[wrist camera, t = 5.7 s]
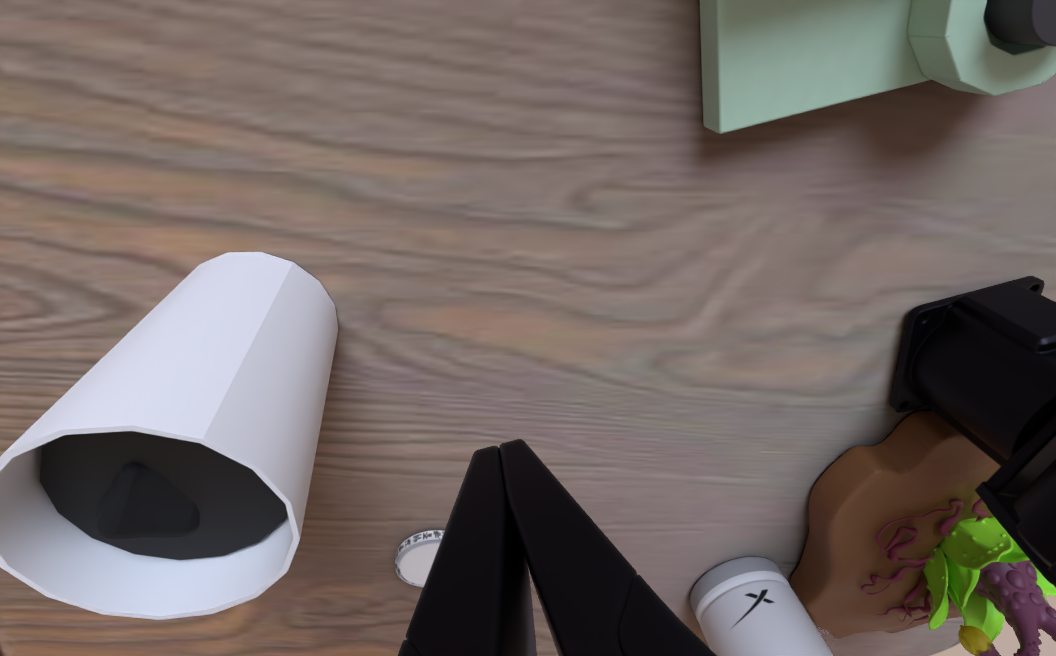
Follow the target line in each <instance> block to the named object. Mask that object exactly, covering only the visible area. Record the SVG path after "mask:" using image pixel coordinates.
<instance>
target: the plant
mask: <svg viewBox="0 0 1056 656" xmlns="http://www.w3.org/2000/svg"><path fill="white" fill-rule="evenodd" d="M1000 467H1001V466H1000V465H999V464H997V463H996V462H995V461H994V460H993V459H991V458H990V457H989V456H988V455H986V454H985V453H984V452H983V451H981V450H980V449H979V448H978V447H977V446H975V445H974V444H973V443H972V442H970V441H969V440H968V439H967V438H966V437H964V436H963V435H962V434H961V433H959V432H958V431H957V430H956V429H955V428H953V427H952V426H951V425H950V424H948V423H947V422H946V421H945V420H944V419H942V418H941V417H940V416H939V415H937V414H936V413H935V412H928V411H920V412H916V413H913V414H911V415H909V416H908V417H907V418H906V419H904V420H903V421H902V422H901V423H900V424H899V425H898V427H897V428H896V429H895V430H894V431H893V432H892V433H891V434H890V435H889V436H888V437H887V438H886V439H885V440H884V441H883V442H881V443H879V444H877V445H875V446H855V447H852V448H851V449H849V450H848V451H847V452H846V453H844V454H843V455H842V456H841V457H840V458H838V459H837V460H836V461H835V462H834V463H833V464H832V465H831V466H830V467H829V468H828V469H827V470H826V471H825V472H824V473H823V474H822V475H821V477H820V478H819V479H818V481H817V482H816V484H815V486H814V487H813V489H812V492H811V496H810V500H809V511H808V514H809V534H808V538H807V541H806V545H805V548H804V552H803V555H802V558H801V561H800V563H799V566H798V567H797V569H796V570H795V572H794V573H793V575H792V576H791V585H792V587H793V589H794V590H795V592H796V594H797V595H798V597H799V599H800V600H801V602H802V604H803V605H804V607H805V609H806V610H807V612H808V613H809V615H810V617H811V618H812V620H813V621H814V622H815V624H816V625H817V626H819V627H821V628H823V629H825V630H827V631H829V632H830V633H831V634H832V635H833V636H834V637H835V638H842V637H845V636H848V635H851V634H854V633H859V632H865V631H885V632H889V633H895V632H900V631H903V630H907V629H910V628H913V627H916V626H918V625H922V624H925V623H929V629H930V630H933V629H935V628H938V627H939V626H941V625H942V624H943V623H944V621H945V619H948V618H955V617H962V616H963V618H964V626H963V625H960V627H961V629H960V630H959V640H960V642H961V644H962V645H963V647H964V648H965V649H966V650H967V651H968V652H970V653H971V654H973V655H975V656H1001V655H999V653H998V651H997V650H996V649H995V647H994V645H993V643H992V642H993V640H994V639H995V638H996V637H997V636H998V634H999V633H1000V631H1001V629H1002V626H1003V622H1004V616H1005V619H1006V621H1007V623H1008V624H1009V625H1010V626H1011V627H1013V629H1014V631H1015V634H1016V636H1017V638H1018V641H1019V643H1020V649H1018V650H1017V653H1014V656H1039V652H1040V649H1039V647H1038V645H1040V644H1042V643H1041V640H1039V638H1038V637H1039V636H1040V633H1039V632H1038V629H1042V630H1043V631H1045V632H1046V633H1047V634H1049V635H1050V636H1051V637H1052V639H1053V640H1054V641H1056V610H1055V609H1053V608H1052V607H1051V606H1050V605H1049V604H1048V602H1047V600H1046V598H1045V596H1044V594H1045V595H1052V596H1056V588H1055V586H1054V585H1052V584H1051V583H1050V582H1048V581H1047V580H1046V579H1045V578H1044V577H1043V575H1042V574H1041V573H1040V572H1039V570H1038V569H1037V568H1036V567H1035V566H1034V564H1033V563H1032V562H1031V561H1030V559H1029V558H1028V557H1027V556H1026V555H1025V553H1024V552H1023V551H1022V550H1021V548H1020V547H1019V546H1018V545H1017V544H1016V542H1015V541H1014V540H1013V539H1012V538H1011V536H1010V535H1009V534H1008V533H1007V531H1006V530H1005V529H1004V528H1003V527H1002V525H1001V524H1000V523H999V522H998V520H997V519H996V518H995V517H994V516H993V514H992V513H991V512H990V511H989V509H988V508H987V505H986V504H985V503H984V502H983V500H982V499H981V498H980V497H979V496H978V494H977V493H976V492H975V489H976V488H977V487H978V486H979V485H980V484H981V483H982V482H983V481H985V482H986V481H987V480H988V479H989V478H990V477H991V476H992V475H993V474H994V473H995V472H996V471H997V470H998V469H999V468H1000Z"/></svg>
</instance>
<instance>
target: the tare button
mask: <svg viewBox="0 0 1056 656" xmlns="http://www.w3.org/2000/svg"><path fill="white" fill-rule="evenodd" d="M985 15H986V22H987V25H988V28H989V30H990V31H991V33H992V34H993V35H994V36H995V37H996V38H997V39H999V40H1000V41H1003V42H1007V43H1016V44H1029V45H1042V46H1056V0H987V3H986V8H985Z"/></svg>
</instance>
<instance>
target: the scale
mask: <svg viewBox="0 0 1056 656" xmlns="http://www.w3.org/2000/svg"><path fill="white" fill-rule="evenodd" d="M986 3H987V0H700V29H701V62H702V94H703V125H704V127H706V128H708V129H710V130H713V131H715V132H717V133H719V134H723V133H727V132H731V131H734V130H738V129H742V128H746V127H750V126H754V125H758V124H762V123H765V122H769V121H773V120H777V119H781V118H785V117H789V116H793V115H796V114H800V113H804V112H808V111H812V110H816V109H820V108H824V107H827V106H831V105H835V104H839V103H843V102H847V101H851V100H855V99H859V98H862V97H866V96H870V95H874V94H878V93H882V92H886V91H890V90H893V89H897V88H901V87H905V86H909V85H913V84H917V83H921V82H924V81H928V80H934V81H936V82H939V83H941V84H943V85H945V86H948V87H950V88H952V89H954V90H959V91H965V92H970V93H976V94H982V95H988V96H998V95H1002V94H1006V93H1010V92H1013V91H1017V90H1021V89H1025V88H1029V87H1033V86H1037V85H1040V84H1042V83H1044V82H1045V81H1047V80H1048V79H1049V78H1051V77H1052V76H1053V75H1054V74H1056V46H1042V45H1029V44H1016V43H1007V42H1003V41H1000V40H999V39H997V38H996V37H995V36H994V35H993V34H992V33H991V31H990V30H989V28H988V25H987V22H986V15H985V8H986Z"/></svg>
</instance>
